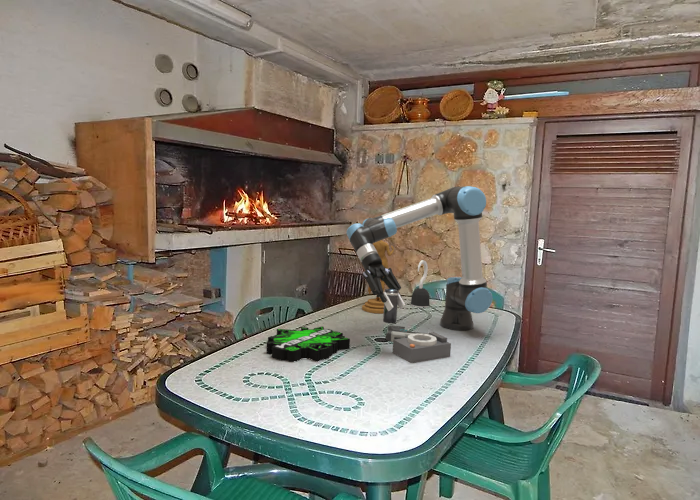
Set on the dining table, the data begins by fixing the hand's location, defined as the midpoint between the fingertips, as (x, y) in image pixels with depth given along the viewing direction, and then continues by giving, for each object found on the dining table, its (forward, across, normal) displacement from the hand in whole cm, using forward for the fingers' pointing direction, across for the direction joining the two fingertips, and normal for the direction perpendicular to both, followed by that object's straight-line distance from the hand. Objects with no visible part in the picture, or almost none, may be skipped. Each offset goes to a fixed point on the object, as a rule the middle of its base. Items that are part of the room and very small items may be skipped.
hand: (396, 307), depth 173 cm
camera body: (+16, -10, -10) cm, 21 cm away
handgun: (+6, -20, -21) cm, 30 cm away
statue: (-26, -41, -53) cm, 72 cm away
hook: (-24, -69, -50) cm, 88 cm away
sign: (-5, +24, -31) cm, 40 cm away
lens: (+2, 0, -6) cm, 7 cm away
